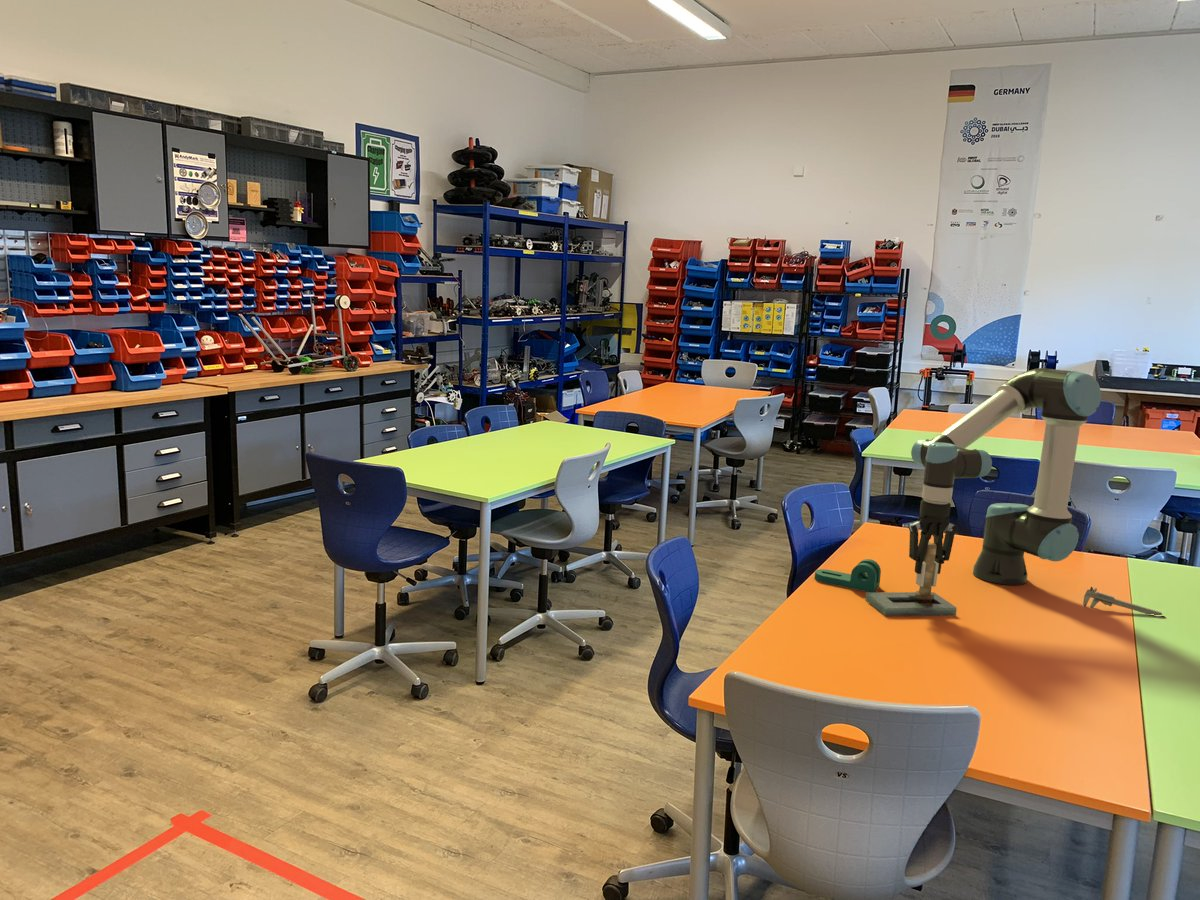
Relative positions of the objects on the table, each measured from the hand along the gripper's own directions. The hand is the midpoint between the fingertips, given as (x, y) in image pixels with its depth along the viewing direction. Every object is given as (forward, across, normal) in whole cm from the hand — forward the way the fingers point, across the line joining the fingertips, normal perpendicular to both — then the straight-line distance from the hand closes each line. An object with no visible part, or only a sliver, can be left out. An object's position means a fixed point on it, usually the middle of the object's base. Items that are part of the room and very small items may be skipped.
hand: (925, 584), depth 238 cm
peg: (+4, 0, 0) cm, 4 cm away
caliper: (+7, -57, +4) cm, 58 cm away
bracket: (+7, +14, -20) cm, 25 cm away
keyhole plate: (+7, +4, 0) cm, 8 cm away
